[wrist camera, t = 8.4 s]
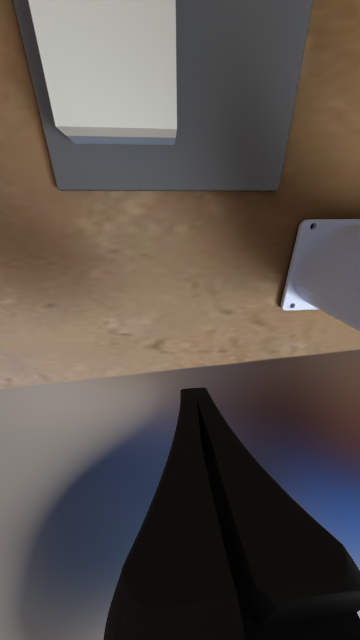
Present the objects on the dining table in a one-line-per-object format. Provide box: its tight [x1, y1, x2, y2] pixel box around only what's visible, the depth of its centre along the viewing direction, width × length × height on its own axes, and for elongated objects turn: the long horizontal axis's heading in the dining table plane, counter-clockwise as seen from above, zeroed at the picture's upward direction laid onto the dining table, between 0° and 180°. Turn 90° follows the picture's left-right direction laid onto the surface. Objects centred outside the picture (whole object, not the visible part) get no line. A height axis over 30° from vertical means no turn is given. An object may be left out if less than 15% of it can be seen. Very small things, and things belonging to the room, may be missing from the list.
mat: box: [13, 0, 313, 191], centre depth 11 cm, size 16×14×1 cm
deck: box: [28, 0, 177, 145], centre depth 10 cm, size 2×9×6 cm
